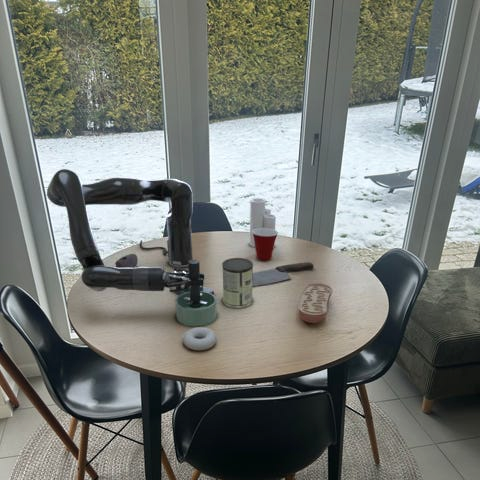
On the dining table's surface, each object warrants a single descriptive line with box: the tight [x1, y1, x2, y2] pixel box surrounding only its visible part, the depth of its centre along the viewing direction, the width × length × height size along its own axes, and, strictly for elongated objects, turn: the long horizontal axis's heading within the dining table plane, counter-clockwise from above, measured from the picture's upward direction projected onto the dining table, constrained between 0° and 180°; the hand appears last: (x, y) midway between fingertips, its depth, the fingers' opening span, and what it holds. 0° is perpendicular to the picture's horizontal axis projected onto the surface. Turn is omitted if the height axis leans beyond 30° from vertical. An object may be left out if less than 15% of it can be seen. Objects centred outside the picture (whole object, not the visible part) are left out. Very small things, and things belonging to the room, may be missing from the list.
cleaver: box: [252, 261, 314, 287], centre depth 181 cm, size 29×10×2 cm, turn 116°
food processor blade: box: [184, 259, 207, 308], centre depth 148 cm, size 8×8×15 cm
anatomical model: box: [297, 282, 333, 324], centre depth 157 cm, size 23×10×5 cm, turn 164°
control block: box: [174, 285, 215, 296], centre depth 167 cm, size 12×8×4 cm
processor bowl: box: [174, 291, 218, 327], centre depth 153 cm, size 13×13×6 cm
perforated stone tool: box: [115, 253, 139, 268], centre depth 182 cm, size 15×5×7 cm, turn 163°
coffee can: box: [221, 257, 254, 309], centre depth 160 cm, size 10×10×14 cm
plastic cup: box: [252, 228, 279, 262], centre depth 194 cm, size 11×11×12 cm
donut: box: [182, 326, 217, 351], centre depth 139 cm, size 10×4×10 cm
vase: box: [249, 197, 277, 248], centre depth 205 cm, size 11×7×20 cm, turn 77°
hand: (203, 279), depth 148 cm, fingers closed on food processor blade, 3 cm apart
